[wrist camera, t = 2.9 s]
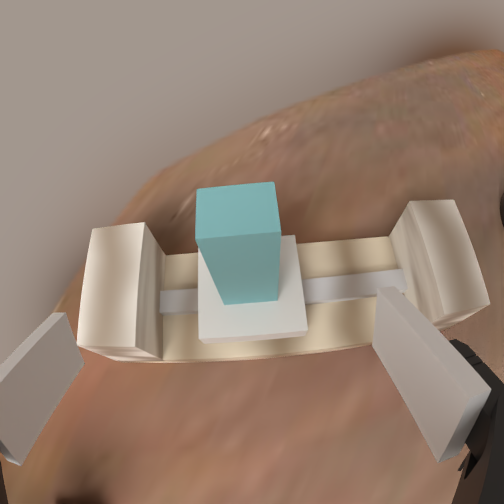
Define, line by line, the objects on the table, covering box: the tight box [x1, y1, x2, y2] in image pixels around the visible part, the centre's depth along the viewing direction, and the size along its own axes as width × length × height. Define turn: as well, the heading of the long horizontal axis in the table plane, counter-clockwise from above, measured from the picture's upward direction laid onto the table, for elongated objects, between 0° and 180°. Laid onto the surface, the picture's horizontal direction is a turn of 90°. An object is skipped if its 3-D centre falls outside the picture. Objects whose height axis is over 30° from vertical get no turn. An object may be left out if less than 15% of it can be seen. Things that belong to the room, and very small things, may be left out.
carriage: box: [195, 182, 308, 344], centre depth 21 cm, size 8×8×13 cm
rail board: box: [77, 200, 490, 363], centre depth 25 cm, size 32×10×8 cm, turn 94°
